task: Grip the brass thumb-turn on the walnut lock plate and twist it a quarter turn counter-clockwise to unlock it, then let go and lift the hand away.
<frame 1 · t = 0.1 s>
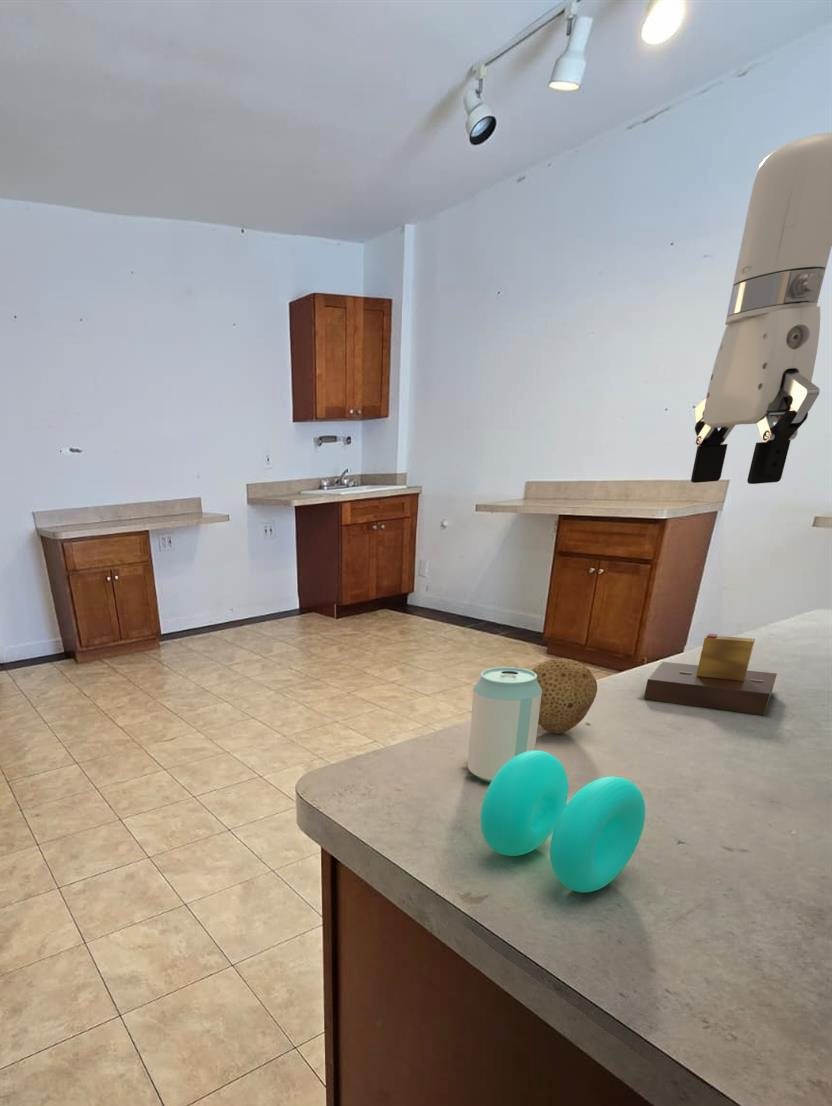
hand: (732, 482, 73), 29 cm above the countertop, tool pointing down, fingers open, 9 cm apart
thumbturn: (725, 656, 88), point 6 cm above the countertop, hinge at 0.0°
donuts: (552, 869, 57), on the countertop
lock plate: (706, 696, 91), on the countertop
can: (498, 774, 74), on the countertop
natural sponge: (550, 734, 84), on the countertop
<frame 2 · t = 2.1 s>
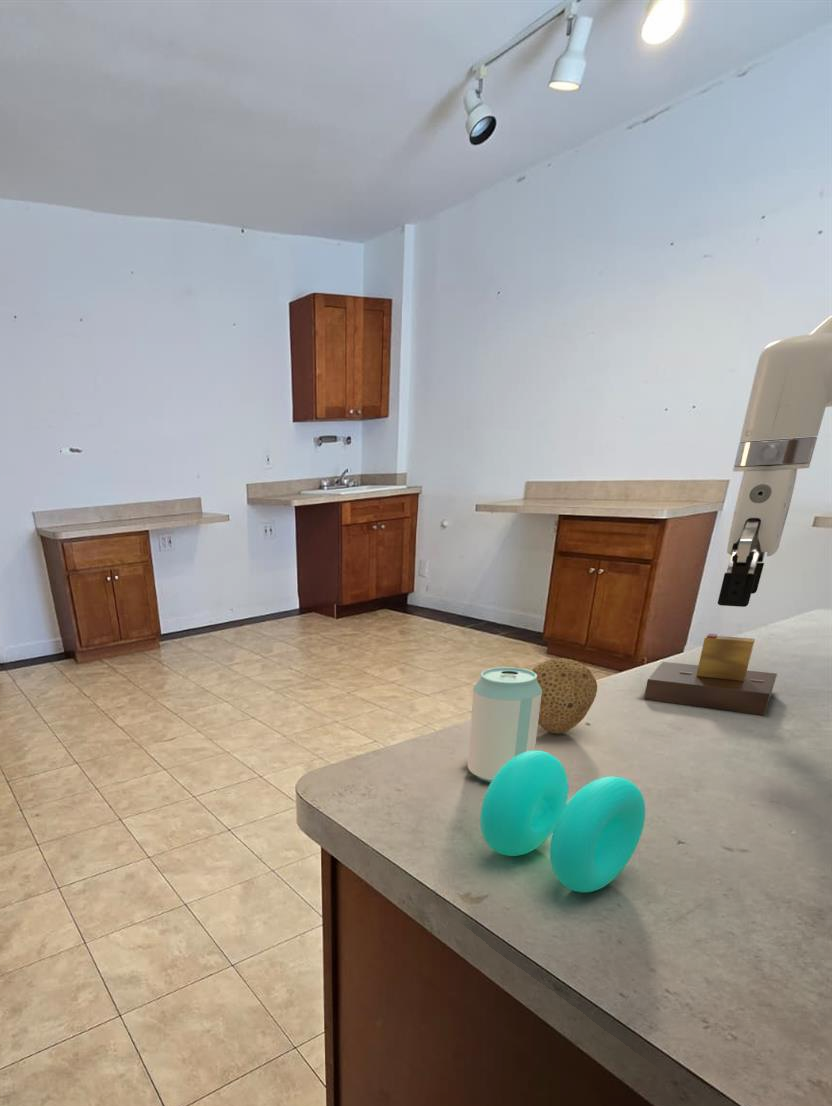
hand: (737, 598, 85), 14 cm above the countertop, tool pointing down, fingers open, 9 cm apart
nothing on the countertop moved.
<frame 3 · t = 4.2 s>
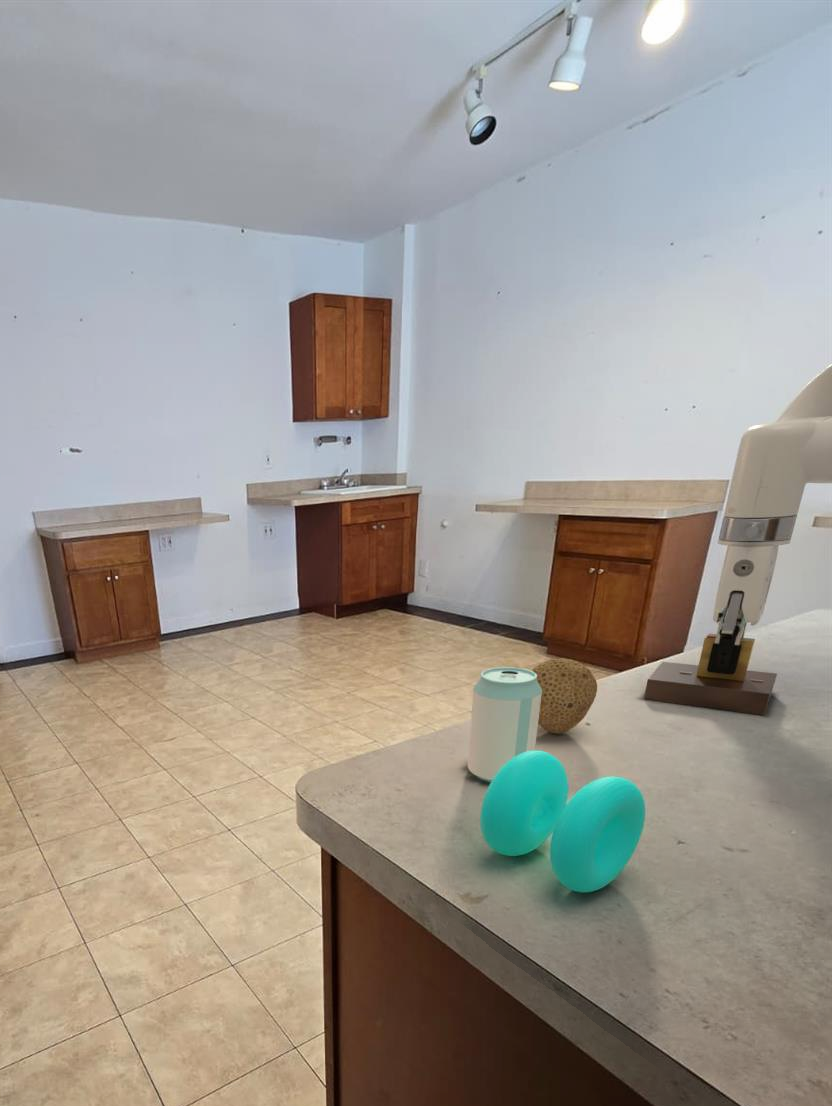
hand: (722, 669, 89), 4 cm above the countertop, tool pointing down, fingers closed on thumbturn, 2 cm apart
thumbturn: (725, 656, 88), point 6 cm above the countertop, hinge at 0.0°, touching gripper
everything else where it was.
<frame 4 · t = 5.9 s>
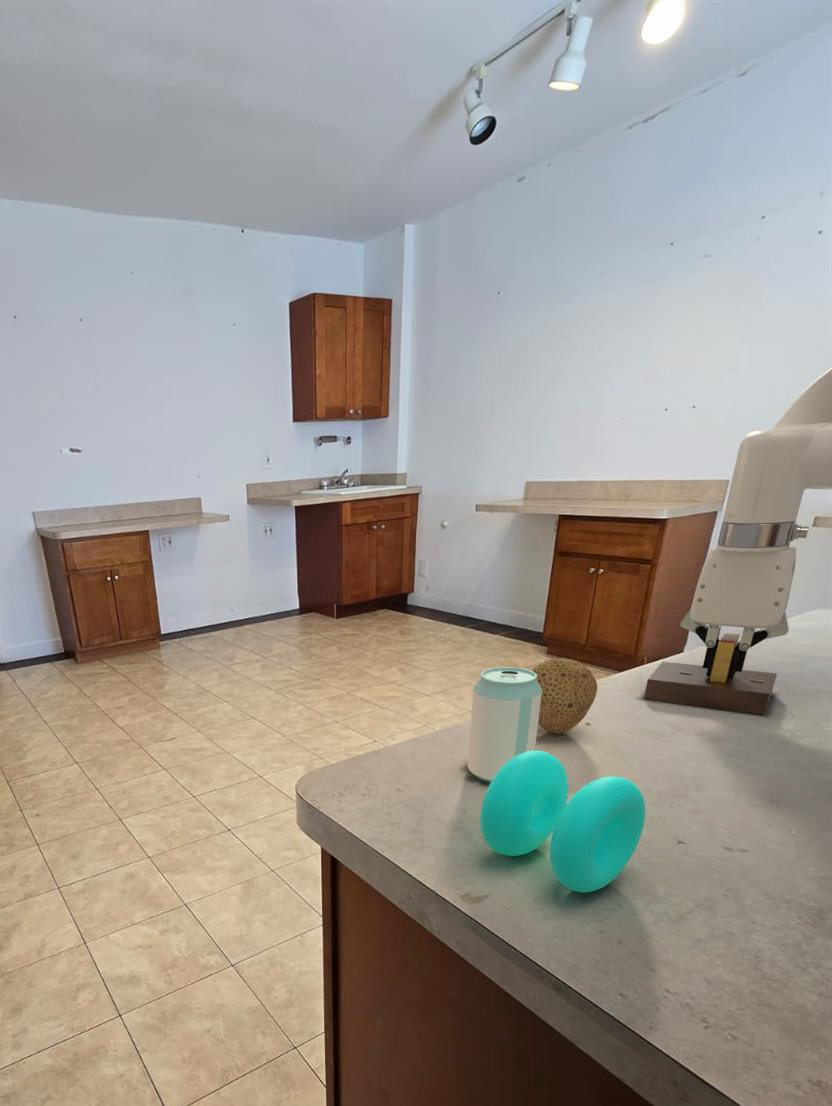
hand: (720, 674, 89), 3 cm above the countertop, tool pointing down, fingers closed on thumbturn
thumbturn: (725, 656, 88), point 6 cm above the countertop, hinge at 89.7°, touching gripper
everything else where it was.
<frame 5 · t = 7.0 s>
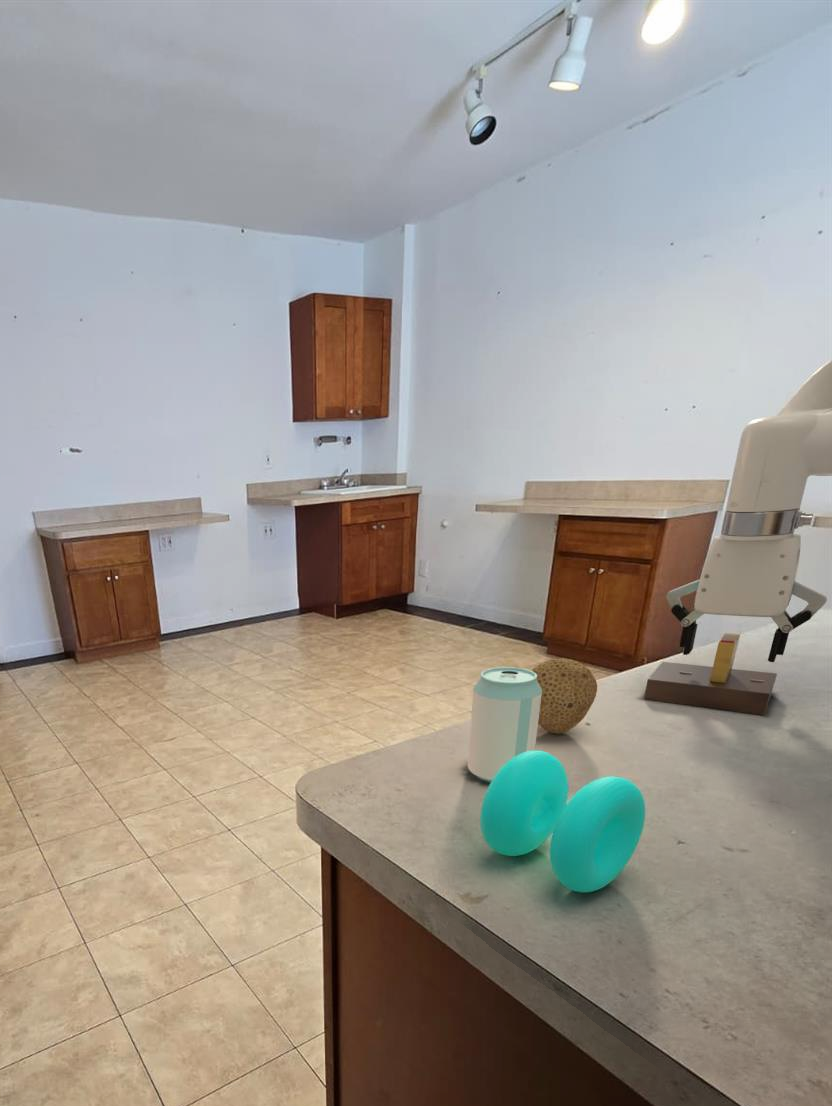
hand: (728, 655, 88), 6 cm above the countertop, tool pointing down, fingers open, 9 cm apart
thumbturn: (725, 656, 88), point 6 cm above the countertop, hinge at 89.8°
everything else where it was.
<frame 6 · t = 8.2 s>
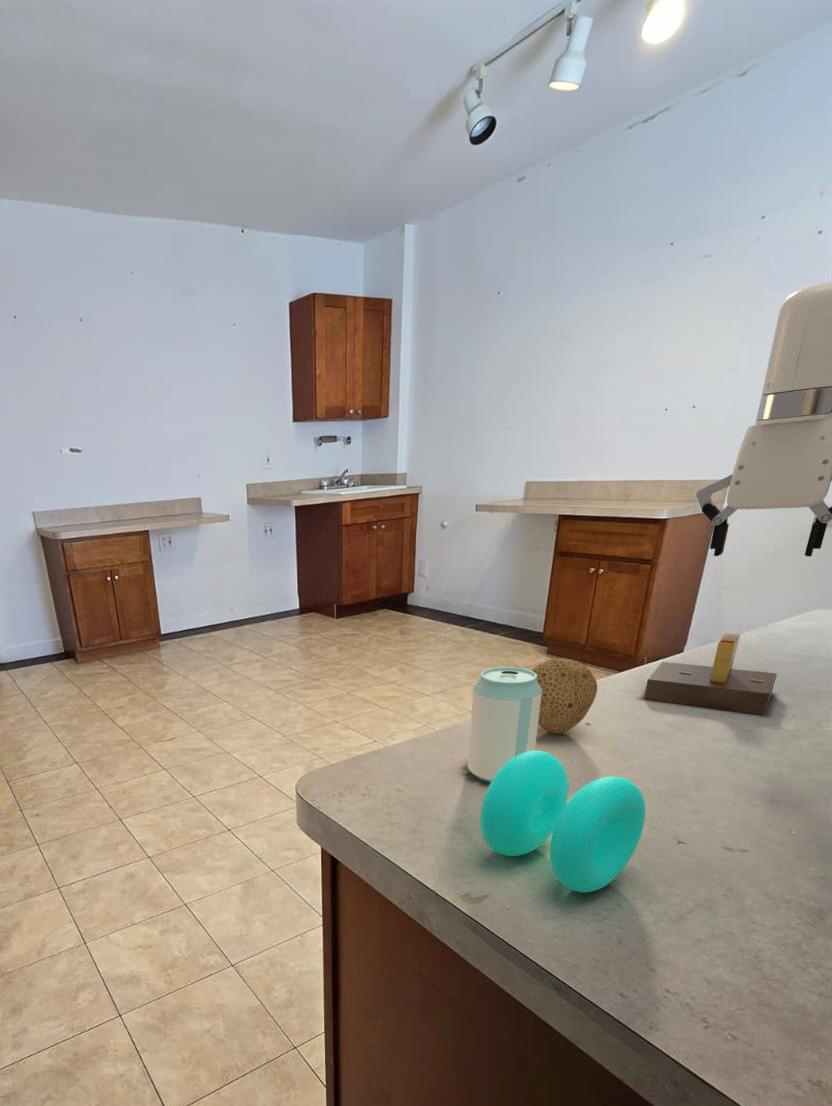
hand: (761, 554, 85), 19 cm above the countertop, tool pointing down, fingers open, 9 cm apart
nothing on the countertop moved.
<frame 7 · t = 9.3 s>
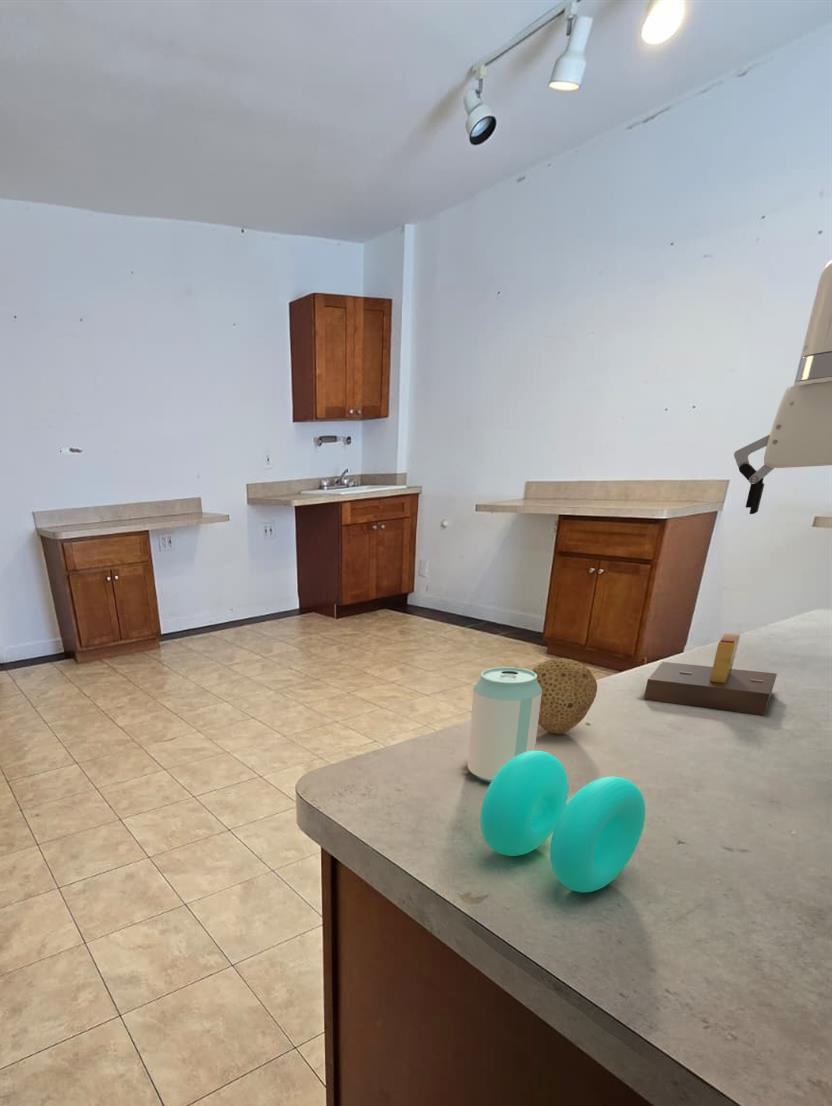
hand: (795, 512, 89), 23 cm above the countertop, tool pointing down, fingers open, 9 cm apart
nothing on the countertop moved.
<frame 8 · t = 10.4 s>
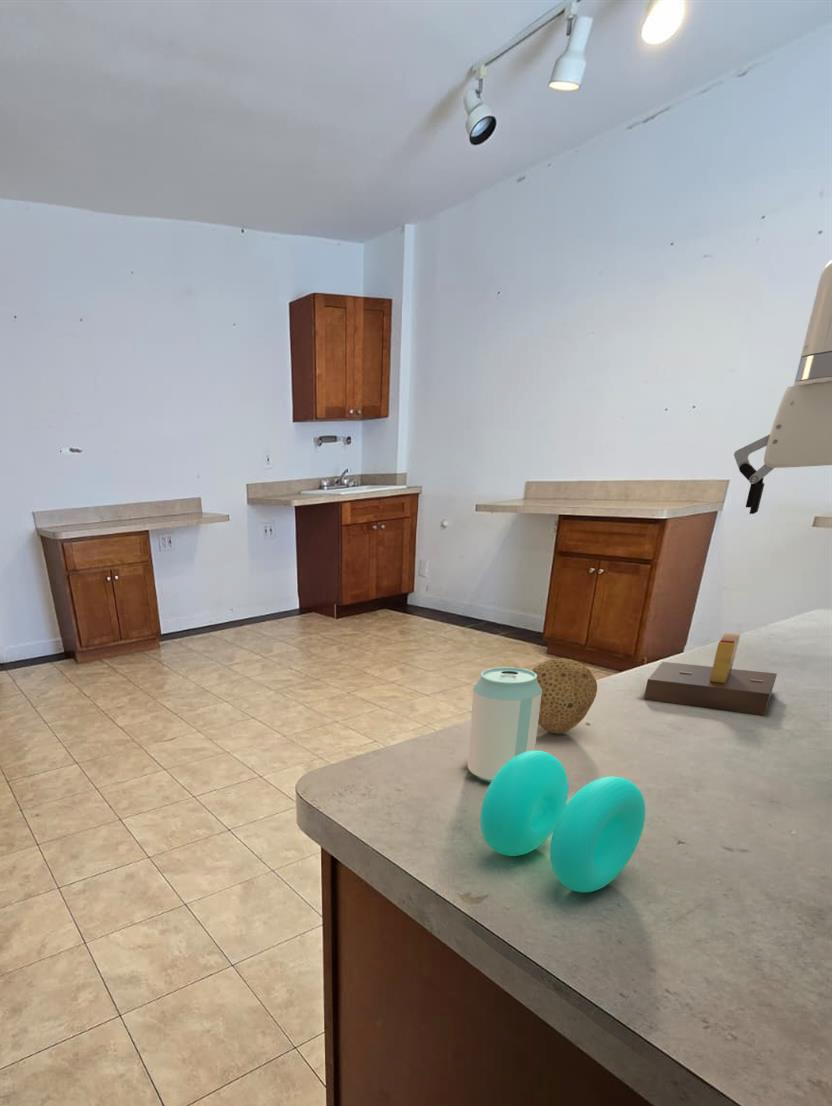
hand: (795, 512, 89), 23 cm above the countertop, tool pointing down, fingers open, 9 cm apart
nothing on the countertop moved.
at the end: thumbturn at +90° (first picture: +0°); the gripper is holding nothing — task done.
